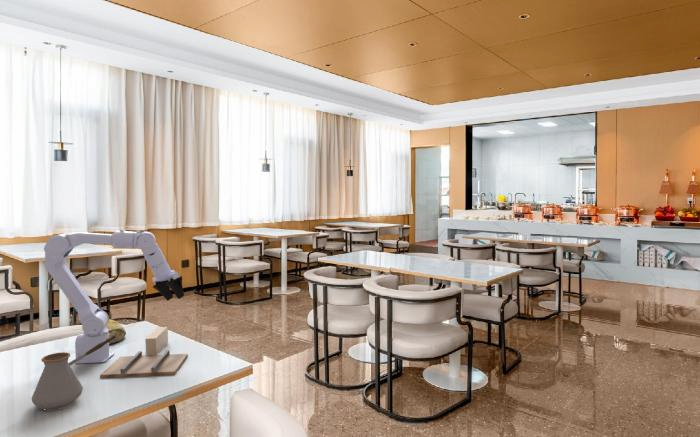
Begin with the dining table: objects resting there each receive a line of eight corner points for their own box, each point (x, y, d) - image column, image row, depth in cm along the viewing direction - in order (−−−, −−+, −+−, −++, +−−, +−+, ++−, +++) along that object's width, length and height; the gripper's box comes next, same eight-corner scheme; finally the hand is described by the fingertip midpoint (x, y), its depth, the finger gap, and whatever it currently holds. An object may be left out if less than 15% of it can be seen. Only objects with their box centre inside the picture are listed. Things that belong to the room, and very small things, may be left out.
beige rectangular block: (146, 355, 153) (145, 338, 153) (158, 342, 166) (157, 327, 166) (156, 355, 154) (155, 338, 153) (168, 342, 167) (167, 326, 166)
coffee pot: (38, 419, 111) (34, 360, 110) (27, 404, 119) (24, 349, 118) (127, 390, 126) (125, 338, 125) (113, 379, 134) (111, 330, 133)
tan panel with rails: (100, 378, 135) (99, 370, 135) (120, 359, 150) (120, 352, 150) (175, 374, 137) (174, 366, 137) (187, 356, 152) (187, 349, 152)
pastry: (98, 335, 176) (97, 315, 175) (131, 333, 177) (130, 314, 177) (81, 347, 162) (80, 326, 161) (117, 346, 163) (116, 324, 163)
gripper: (178, 256, 153) (195, 290, 156) (157, 261, 162) (174, 294, 165) (161, 265, 148) (179, 301, 151) (140, 270, 157) (158, 304, 160)
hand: (175, 298), depth 157 cm, fingers open, 7 cm apart
